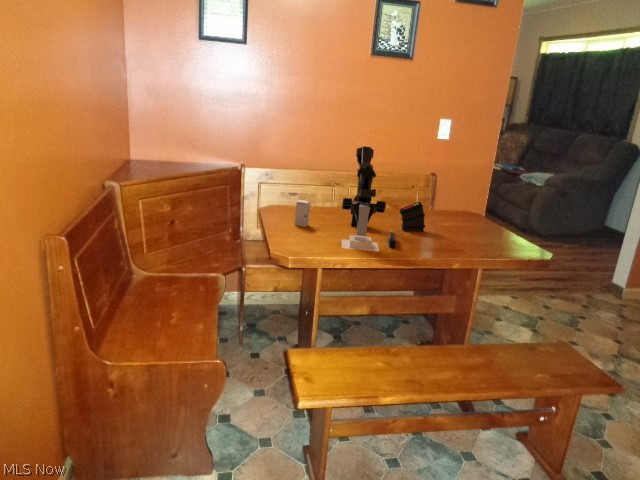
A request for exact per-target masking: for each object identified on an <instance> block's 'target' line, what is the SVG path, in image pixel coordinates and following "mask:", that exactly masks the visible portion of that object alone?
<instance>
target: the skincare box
mask: <svg viewBox="0 0 640 480" xmlns="http://www.w3.org/2000/svg"><path fill="white" fill-rule="evenodd" d="M310 210H311V201H308V200H303V199H299V200H296V205H295V217H294V225H295V226H299V227H304V228H305V227H307V226H308V225H309V221H310V220H309V219H310Z"/></svg>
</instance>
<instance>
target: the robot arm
mask: <svg viewBox="0 0 640 480" xmlns="http://www.w3.org/2000/svg"><path fill="white" fill-rule="evenodd" d="M374 151H375V150H374V149H373V148H372V147H370V146H361V147H357V148H356V152H355V153H356V154H355V157H356V162H357V164H358V168H357V173H356V177H357V178H358V179H357V180H358V181H357V189H356V191H357V192H356V195H355V197H354V198H352V197H351V198H350V197H344V198H342V205H341V210H346V211H347V210H348V211H349V210H350V215H352V216H351V222H350V226H351V227H352V228H354V227H355V228H357V224H358V219H359V216H358V215H359V206H360V204H362V205H369V215H368V223H369V222H370V220H371V218H372V216H373V215H374V214H377V213H385V210H386V207H387V203H386V200H385V201H384V200H383V201H382V200H377V201H376V203H372V198H375V197H376V196H377V188H372V184H373V180H374V179H375V178H376V176H377V173H376V172H375V170H374V165H372V164H371V162H372V159H373V158H374Z"/></svg>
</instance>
